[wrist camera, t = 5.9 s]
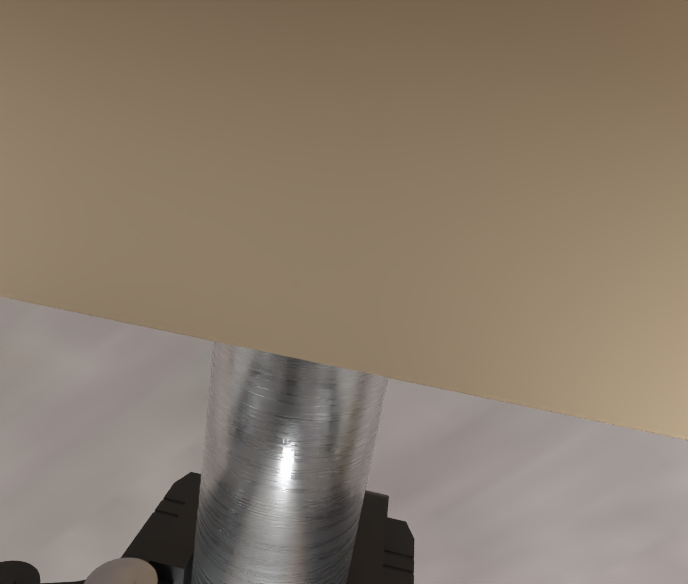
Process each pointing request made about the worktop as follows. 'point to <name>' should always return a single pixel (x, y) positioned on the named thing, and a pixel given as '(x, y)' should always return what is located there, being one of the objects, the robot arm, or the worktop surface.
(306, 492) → the shaft
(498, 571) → the worktop surface
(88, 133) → the tan wooden block
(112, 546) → the worktop surface
